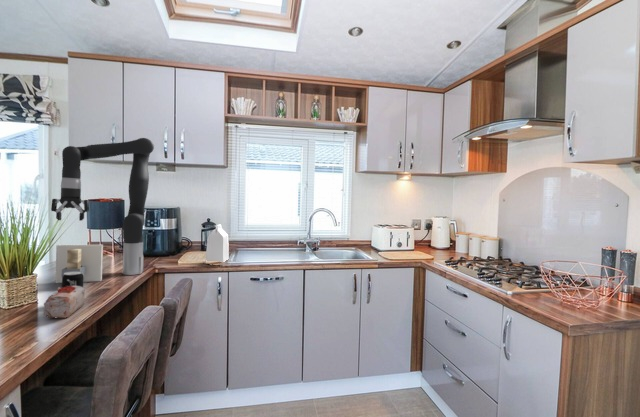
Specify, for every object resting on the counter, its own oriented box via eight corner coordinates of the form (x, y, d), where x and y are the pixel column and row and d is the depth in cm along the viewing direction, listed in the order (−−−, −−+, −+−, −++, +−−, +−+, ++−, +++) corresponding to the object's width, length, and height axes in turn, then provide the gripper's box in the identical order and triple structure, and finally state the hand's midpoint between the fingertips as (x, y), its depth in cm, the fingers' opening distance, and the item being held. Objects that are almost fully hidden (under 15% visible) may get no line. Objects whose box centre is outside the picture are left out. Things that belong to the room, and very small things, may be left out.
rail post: (80, 271, 142) (81, 248, 142) (77, 273, 138) (78, 250, 138) (70, 272, 140) (71, 248, 140) (66, 274, 137) (67, 250, 136)
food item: (69, 319, 104) (70, 291, 103) (41, 321, 101) (41, 292, 101) (86, 305, 117) (87, 280, 116) (62, 307, 114) (62, 281, 114)
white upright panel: (101, 279, 150) (102, 244, 150) (94, 286, 140) (95, 248, 139) (57, 281, 144) (58, 244, 143) (45, 288, 133) (46, 248, 132)
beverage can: (59, 306, 115) (60, 275, 114) (64, 300, 120) (65, 271, 120) (80, 304, 118) (81, 274, 117) (84, 298, 124) (85, 270, 123)
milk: (222, 265, 193) (224, 226, 192) (205, 264, 193) (206, 225, 192) (228, 262, 205) (230, 224, 204) (212, 261, 205) (213, 223, 204)
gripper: (91, 188, 152) (90, 220, 153) (56, 186, 147) (55, 219, 147) (86, 188, 145) (85, 221, 146) (49, 186, 140) (48, 220, 140)
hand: (70, 220), depth 147 cm, fingers open, 8 cm apart
